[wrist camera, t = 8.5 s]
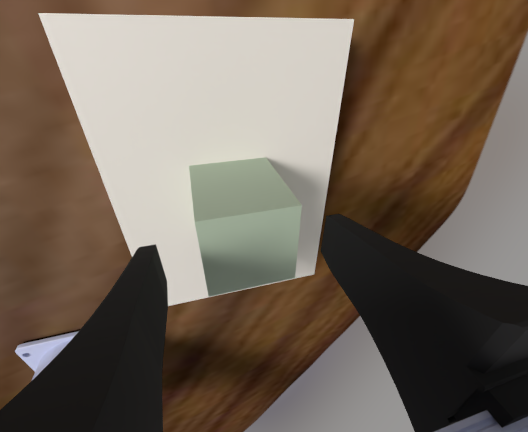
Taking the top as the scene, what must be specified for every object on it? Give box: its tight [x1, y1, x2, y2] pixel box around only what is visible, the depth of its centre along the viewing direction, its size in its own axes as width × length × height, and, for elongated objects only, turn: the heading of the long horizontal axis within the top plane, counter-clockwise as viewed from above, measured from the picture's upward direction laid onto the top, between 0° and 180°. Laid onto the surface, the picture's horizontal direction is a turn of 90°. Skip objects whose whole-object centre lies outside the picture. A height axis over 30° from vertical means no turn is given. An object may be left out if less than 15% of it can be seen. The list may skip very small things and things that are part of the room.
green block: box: [189, 157, 302, 297], centre depth 13 cm, size 4×4×5 cm
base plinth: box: [38, 13, 354, 306], centre depth 16 cm, size 16×12×3 cm
